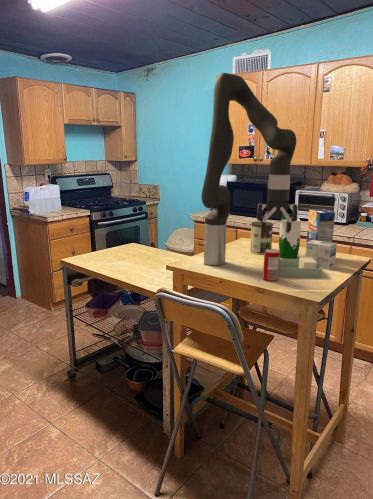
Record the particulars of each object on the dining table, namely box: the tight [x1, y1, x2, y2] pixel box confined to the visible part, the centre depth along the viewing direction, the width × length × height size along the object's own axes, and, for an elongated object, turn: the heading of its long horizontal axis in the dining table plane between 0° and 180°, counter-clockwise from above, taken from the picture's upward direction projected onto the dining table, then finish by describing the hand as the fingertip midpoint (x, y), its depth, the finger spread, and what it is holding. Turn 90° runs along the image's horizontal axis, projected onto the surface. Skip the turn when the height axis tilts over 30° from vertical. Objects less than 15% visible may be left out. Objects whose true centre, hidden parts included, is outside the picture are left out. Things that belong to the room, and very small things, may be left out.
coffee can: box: [249, 220, 274, 255], centre depth 185 cm, size 10×10×14 cm
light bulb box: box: [304, 240, 338, 271], centre depth 162 cm, size 11×7×11 cm, turn 48°
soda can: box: [262, 248, 281, 283], centre depth 144 cm, size 6×6×12 cm
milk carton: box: [278, 213, 302, 259], centre depth 174 cm, size 9×9×20 cm
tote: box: [278, 258, 323, 278], centre depth 154 cm, size 17×13×4 cm
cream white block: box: [298, 256, 317, 268], centre depth 154 cm, size 5×7×5 cm
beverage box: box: [304, 208, 336, 257], centre depth 173 cm, size 7×11×22 cm, turn 7°
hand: (275, 232), depth 141 cm, fingers open, 8 cm apart
